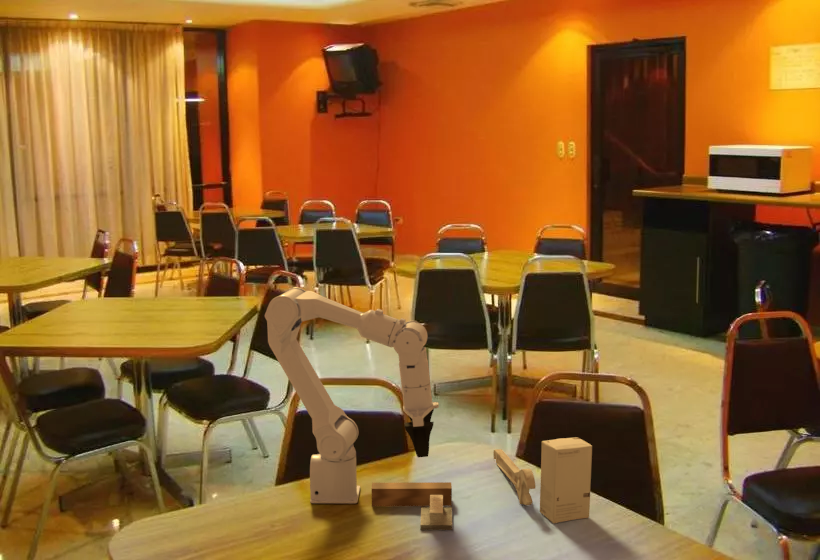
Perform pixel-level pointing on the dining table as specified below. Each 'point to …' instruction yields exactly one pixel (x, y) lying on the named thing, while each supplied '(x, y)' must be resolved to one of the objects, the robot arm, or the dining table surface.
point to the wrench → (516, 476)
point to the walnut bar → (410, 493)
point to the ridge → (436, 515)
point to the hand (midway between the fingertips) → (423, 449)
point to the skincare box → (565, 479)
